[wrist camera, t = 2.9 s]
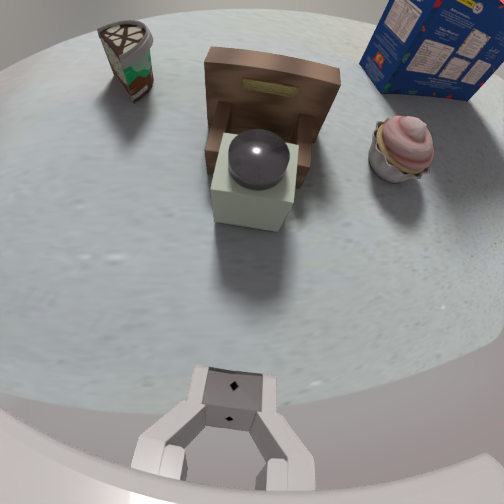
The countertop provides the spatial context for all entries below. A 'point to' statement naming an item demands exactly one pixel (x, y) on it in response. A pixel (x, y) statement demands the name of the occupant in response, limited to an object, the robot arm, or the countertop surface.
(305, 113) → the walnut mount
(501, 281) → the countertop surface
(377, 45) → the pasta box
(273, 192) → the sliding knob
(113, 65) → the food container
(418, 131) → the cupcake
